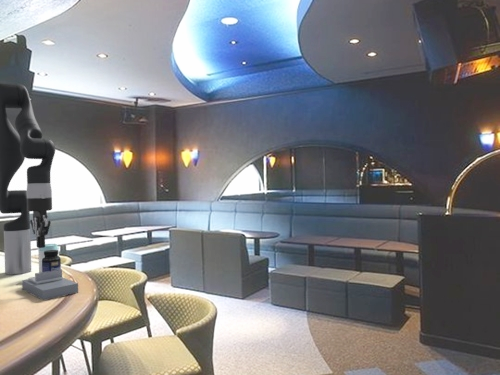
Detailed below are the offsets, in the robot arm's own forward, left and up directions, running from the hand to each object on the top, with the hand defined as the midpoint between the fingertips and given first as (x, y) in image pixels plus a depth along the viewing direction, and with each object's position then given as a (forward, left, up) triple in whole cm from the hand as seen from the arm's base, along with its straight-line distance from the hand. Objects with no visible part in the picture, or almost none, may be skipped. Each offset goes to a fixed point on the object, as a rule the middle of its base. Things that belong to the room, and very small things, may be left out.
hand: (40, 247), depth 133 cm
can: (-17, +8, -14) cm, 24 cm away
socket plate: (+7, 0, -14) cm, 15 cm away
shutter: (+3, 0, -11) cm, 11 cm away
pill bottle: (-8, +6, -14) cm, 17 cm away
